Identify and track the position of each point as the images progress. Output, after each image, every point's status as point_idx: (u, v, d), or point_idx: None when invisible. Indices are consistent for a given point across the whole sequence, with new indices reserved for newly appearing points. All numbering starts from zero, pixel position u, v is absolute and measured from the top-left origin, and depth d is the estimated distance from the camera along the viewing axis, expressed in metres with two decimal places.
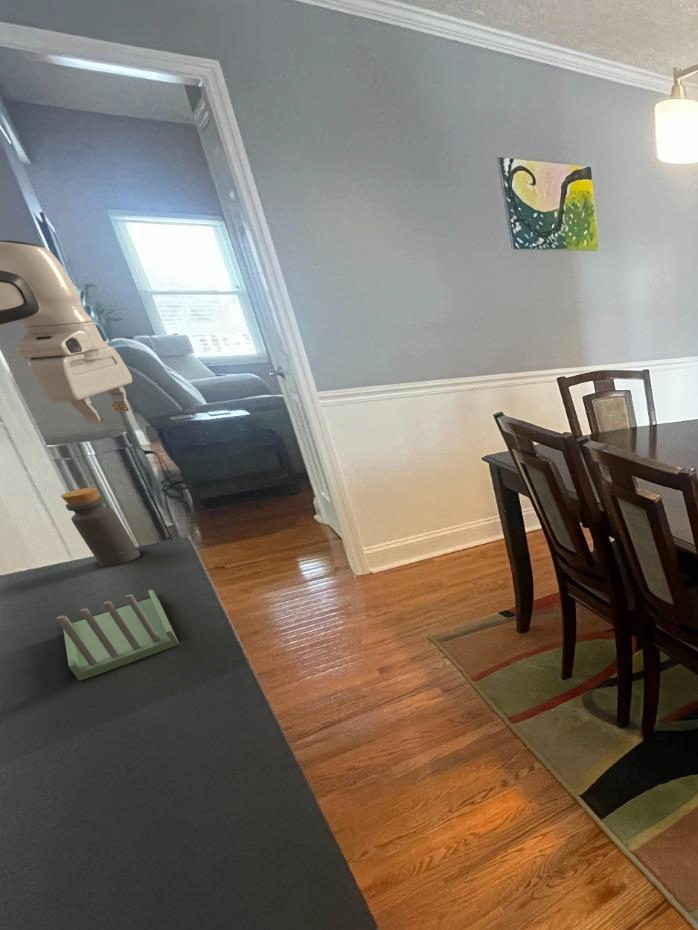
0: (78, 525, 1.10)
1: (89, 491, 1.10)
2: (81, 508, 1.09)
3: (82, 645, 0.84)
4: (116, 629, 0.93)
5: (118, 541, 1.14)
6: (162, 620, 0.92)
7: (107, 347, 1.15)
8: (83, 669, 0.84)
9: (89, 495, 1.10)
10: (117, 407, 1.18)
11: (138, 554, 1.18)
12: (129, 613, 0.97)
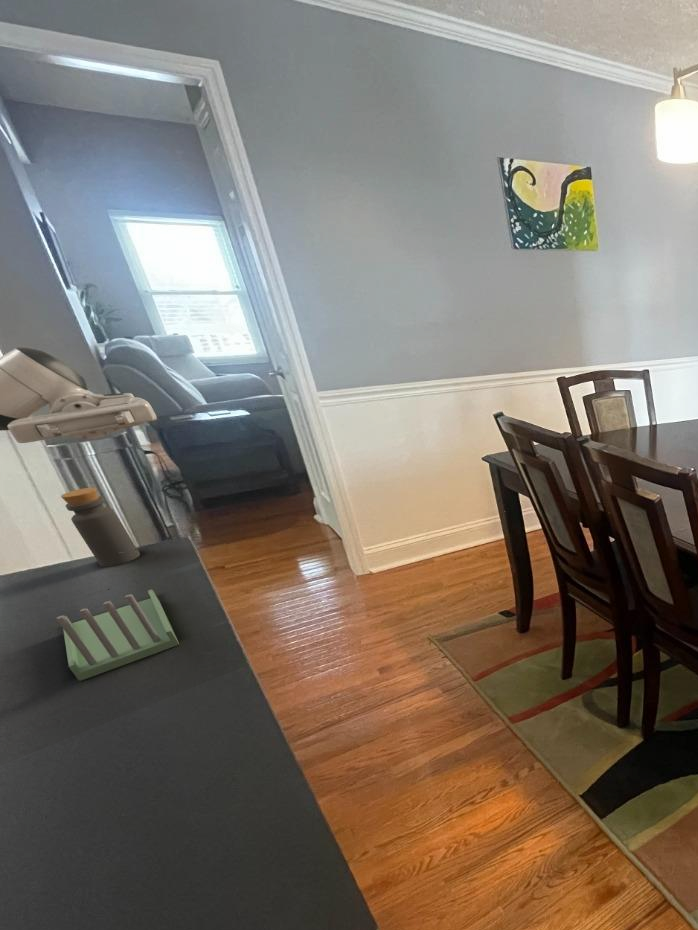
0: (78, 525, 1.10)
1: (89, 491, 1.10)
2: (81, 508, 1.09)
3: (82, 645, 0.84)
4: (116, 629, 0.93)
5: (118, 541, 1.14)
6: (162, 620, 0.92)
7: None
8: (83, 669, 0.84)
9: (89, 495, 1.10)
10: (58, 429, 1.11)
11: (138, 554, 1.18)
12: (129, 613, 0.97)
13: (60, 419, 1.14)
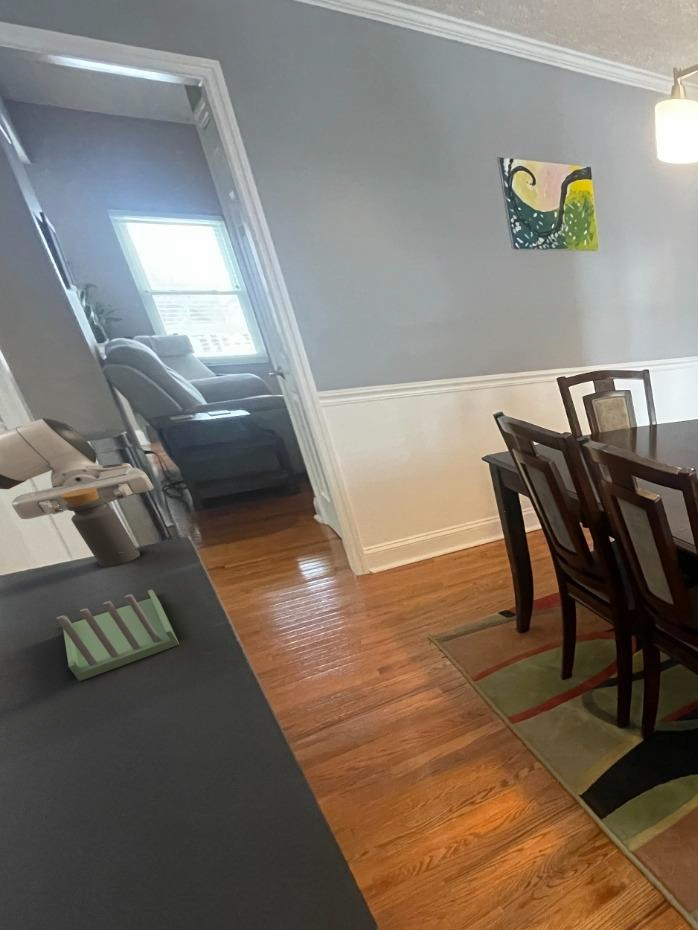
0: (78, 525, 1.10)
1: (89, 491, 1.10)
2: (81, 508, 1.09)
3: (82, 645, 0.84)
4: (116, 629, 0.93)
5: (118, 541, 1.14)
6: (162, 620, 0.92)
7: None
8: (83, 669, 0.84)
9: (89, 495, 1.10)
10: (59, 506, 1.17)
11: (138, 554, 1.18)
12: (129, 613, 0.97)
13: None
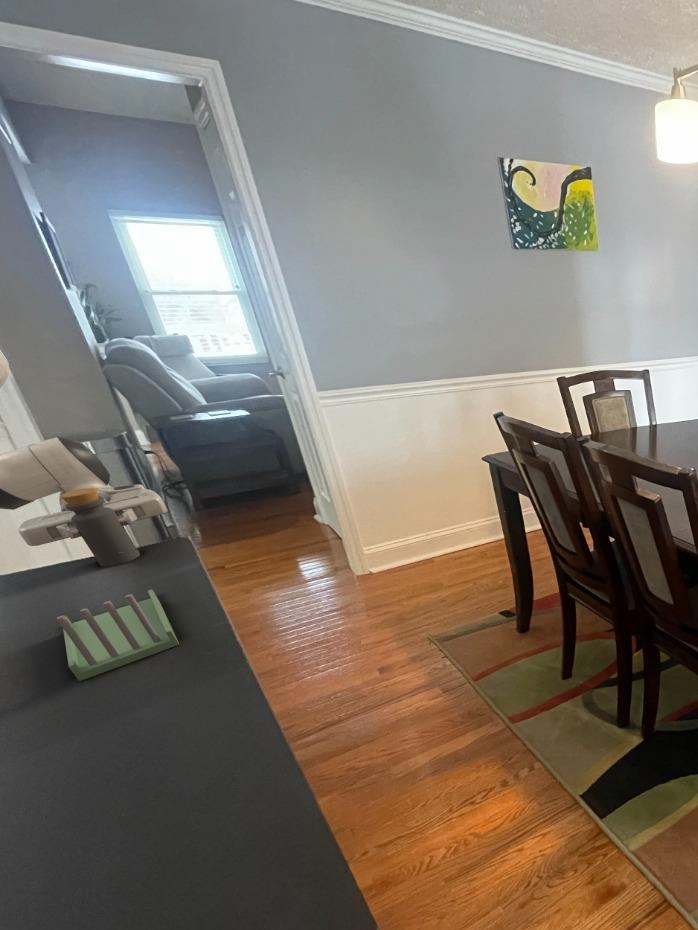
0: (78, 525, 1.10)
1: (89, 491, 1.10)
2: (81, 508, 1.09)
3: (82, 645, 0.84)
4: (116, 629, 0.93)
5: (118, 541, 1.14)
6: (162, 620, 0.92)
7: None
8: (83, 669, 0.84)
9: (89, 495, 1.10)
10: (77, 530, 1.11)
11: (138, 554, 1.18)
12: (129, 613, 0.97)
13: (71, 520, 1.13)
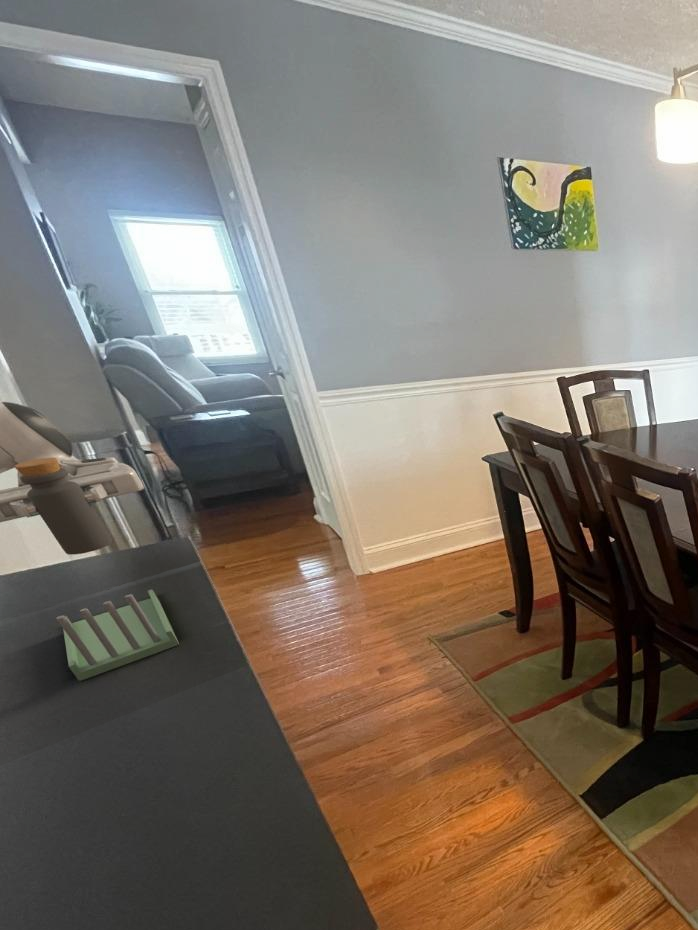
0: (35, 501, 0.93)
1: (48, 461, 0.93)
2: (38, 481, 0.92)
3: (82, 645, 0.84)
4: (116, 629, 0.93)
5: (83, 520, 0.97)
6: (162, 620, 0.92)
7: None
8: (83, 669, 0.84)
9: (48, 465, 0.93)
10: (35, 507, 0.95)
11: (108, 537, 1.01)
12: (129, 613, 0.97)
13: None
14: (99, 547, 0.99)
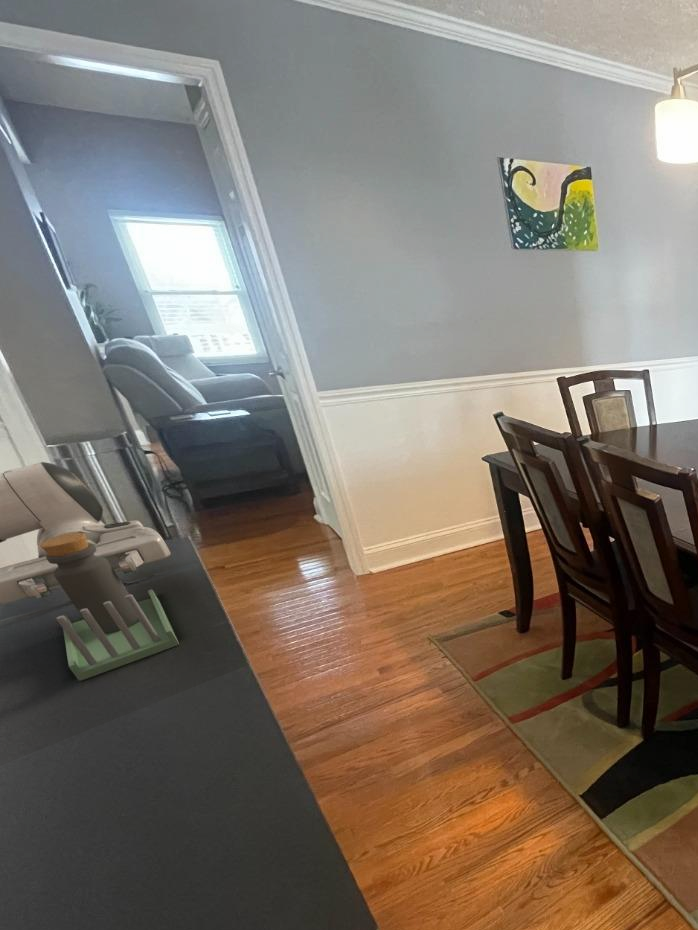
0: (62, 581, 0.87)
1: (76, 538, 0.87)
2: (66, 560, 0.86)
3: (82, 645, 0.84)
4: None
5: (112, 598, 0.91)
6: (162, 620, 0.92)
7: None
8: (83, 669, 0.84)
9: (75, 543, 0.87)
10: (46, 587, 0.87)
11: None
12: None
13: (50, 570, 0.90)
14: (129, 625, 0.93)
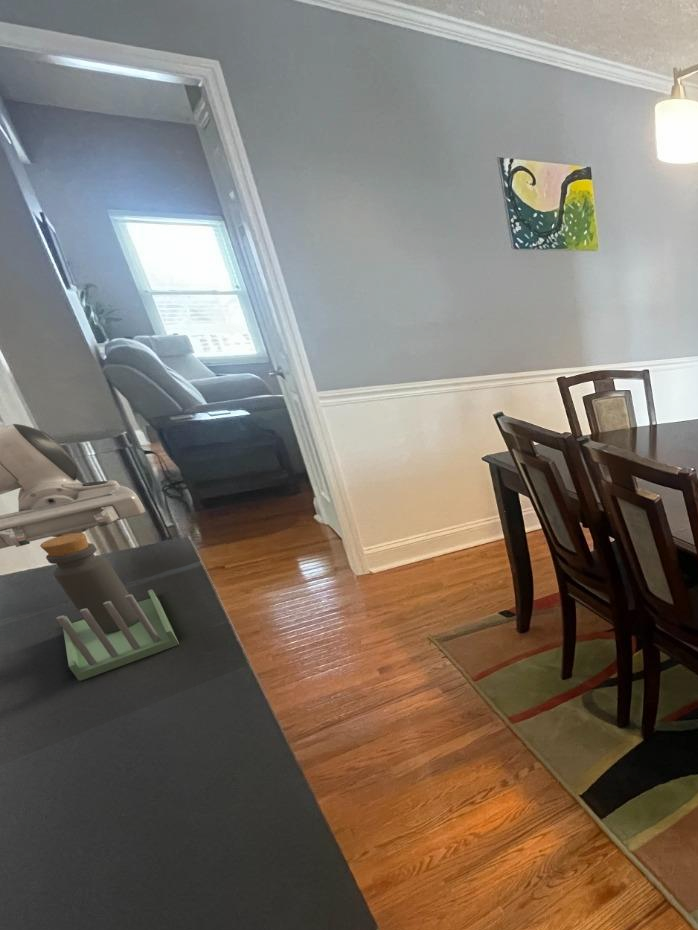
0: (62, 581, 0.87)
1: (76, 538, 0.87)
2: (66, 560, 0.86)
3: (82, 645, 0.84)
4: None
5: (112, 598, 0.91)
6: (162, 620, 0.92)
7: None
8: (83, 669, 0.84)
9: (76, 543, 0.87)
10: (24, 536, 0.93)
11: None
12: None
13: (28, 522, 0.95)
14: (129, 625, 0.93)
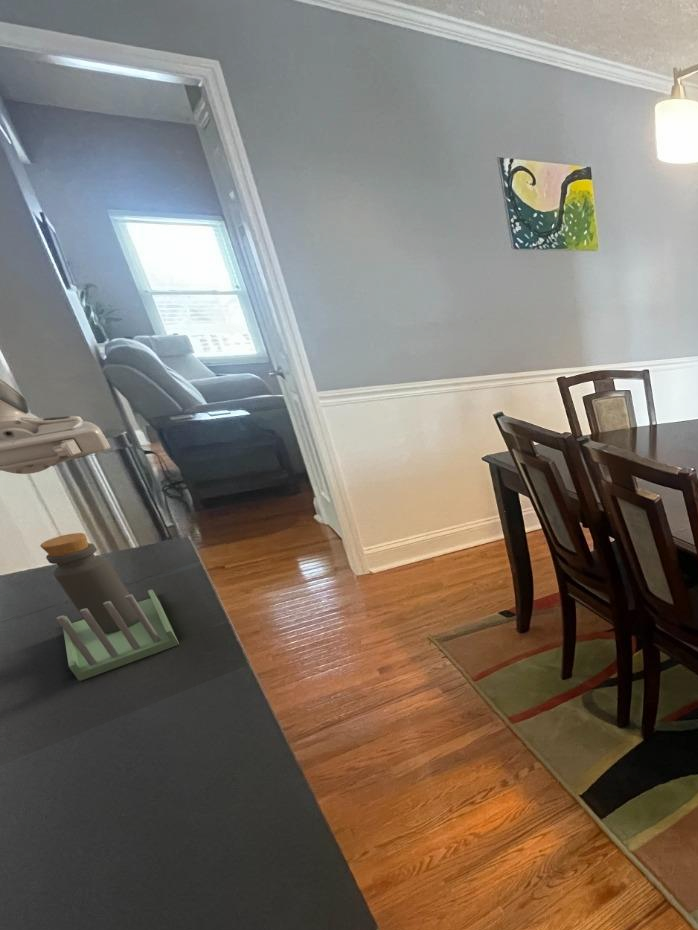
0: (62, 581, 0.87)
1: (76, 538, 0.87)
2: (66, 560, 0.86)
3: (82, 645, 0.84)
4: None
5: (112, 598, 0.91)
6: (162, 620, 0.92)
7: None
8: (83, 669, 0.84)
9: (76, 543, 0.87)
10: None
11: None
12: None
13: None
14: (129, 625, 0.93)
